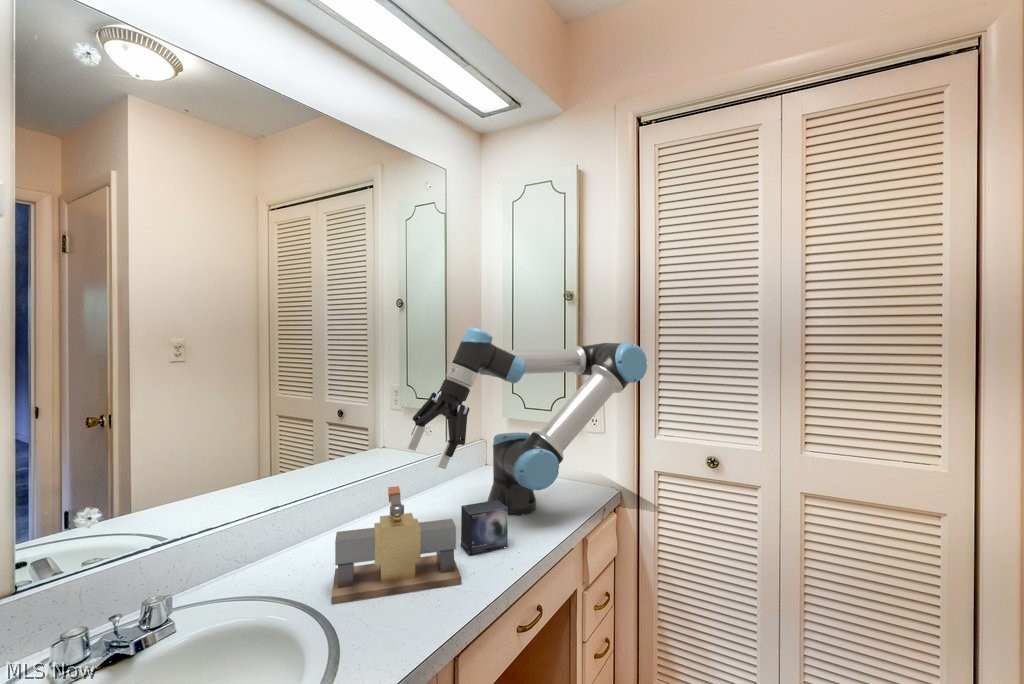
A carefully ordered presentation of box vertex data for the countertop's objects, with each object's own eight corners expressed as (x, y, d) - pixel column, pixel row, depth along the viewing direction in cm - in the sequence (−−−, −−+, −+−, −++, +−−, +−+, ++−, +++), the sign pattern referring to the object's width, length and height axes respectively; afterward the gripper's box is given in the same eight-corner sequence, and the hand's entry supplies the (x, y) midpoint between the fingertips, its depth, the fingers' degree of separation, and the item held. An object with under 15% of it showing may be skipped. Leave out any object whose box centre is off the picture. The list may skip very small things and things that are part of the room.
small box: (469, 557, 114) (469, 513, 114) (459, 546, 120) (459, 505, 120) (508, 548, 119) (508, 506, 119) (497, 538, 125) (497, 498, 125)
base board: (451, 559, 113) (451, 552, 113) (461, 584, 101) (461, 577, 101) (335, 575, 105) (335, 568, 105) (331, 604, 94) (331, 596, 94)
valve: (451, 557, 110) (451, 503, 110) (456, 571, 104) (456, 514, 104) (337, 573, 103) (336, 515, 103) (335, 589, 96) (334, 528, 96)
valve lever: (404, 516, 102) (404, 506, 102) (390, 517, 101) (390, 508, 101) (399, 494, 117) (399, 486, 117) (387, 495, 116) (387, 487, 116)
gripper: (421, 368, 133) (389, 439, 130) (479, 390, 116) (443, 473, 112) (440, 376, 138) (409, 445, 135) (498, 399, 121) (465, 478, 118)
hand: (425, 458), depth 124 cm, fingers open, 13 cm apart
